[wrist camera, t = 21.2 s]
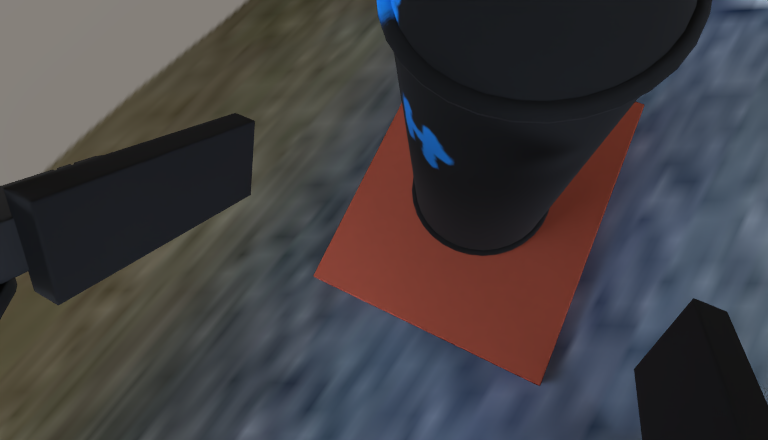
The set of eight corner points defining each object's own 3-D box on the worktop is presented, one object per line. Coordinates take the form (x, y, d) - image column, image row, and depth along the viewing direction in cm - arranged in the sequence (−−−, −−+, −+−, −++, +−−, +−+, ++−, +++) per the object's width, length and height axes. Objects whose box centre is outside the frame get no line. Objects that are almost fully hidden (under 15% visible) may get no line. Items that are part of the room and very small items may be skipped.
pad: (637, 112, 27) (645, 104, 26) (536, 384, 23) (540, 386, 22) (434, 48, 30) (434, 39, 29) (317, 278, 27) (312, 276, 26)
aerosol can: (557, 138, 26) (878, -420, 7) (541, 269, 24) (932, -20, 5) (425, 120, 28) (394, -380, 8) (399, 242, 25) (282, -59, 6)
